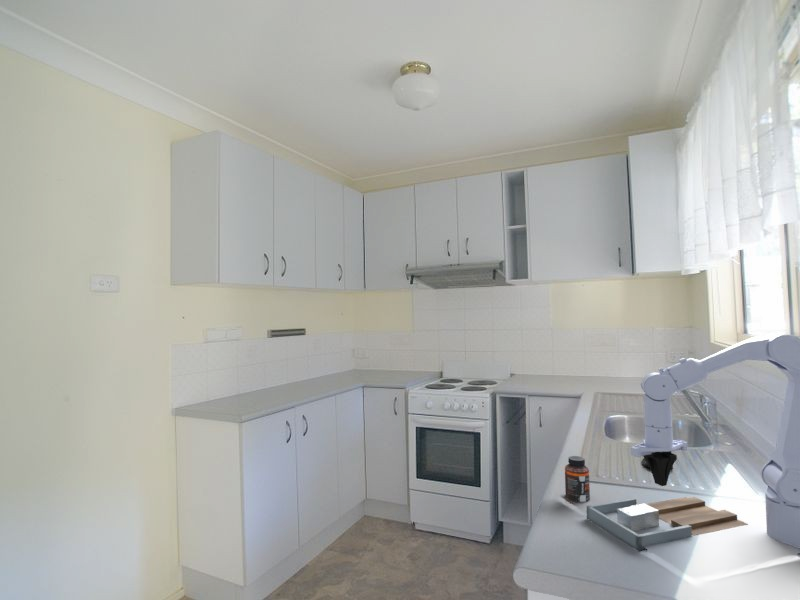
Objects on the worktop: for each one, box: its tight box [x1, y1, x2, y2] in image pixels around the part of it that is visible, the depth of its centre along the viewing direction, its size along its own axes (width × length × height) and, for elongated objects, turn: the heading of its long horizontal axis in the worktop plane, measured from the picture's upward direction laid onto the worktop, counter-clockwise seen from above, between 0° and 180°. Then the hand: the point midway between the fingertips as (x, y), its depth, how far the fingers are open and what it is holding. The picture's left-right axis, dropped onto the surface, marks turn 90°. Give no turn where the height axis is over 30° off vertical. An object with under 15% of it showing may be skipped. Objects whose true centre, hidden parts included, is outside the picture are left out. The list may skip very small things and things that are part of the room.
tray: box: [586, 497, 693, 553], centre depth 105 cm, size 16×14×3 cm
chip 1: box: [616, 506, 647, 532], centre depth 104 cm, size 4×4×4 cm
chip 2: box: [632, 503, 660, 529], centre depth 105 cm, size 4×4×4 cm
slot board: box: [645, 496, 749, 536], centre depth 109 cm, size 16×16×2 cm
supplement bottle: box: [564, 455, 591, 504], centre depth 120 cm, size 6×6×11 cm
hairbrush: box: [641, 457, 674, 469], centre depth 152 cm, size 8×4×25 cm
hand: (660, 484), depth 107 cm, fingers closed
